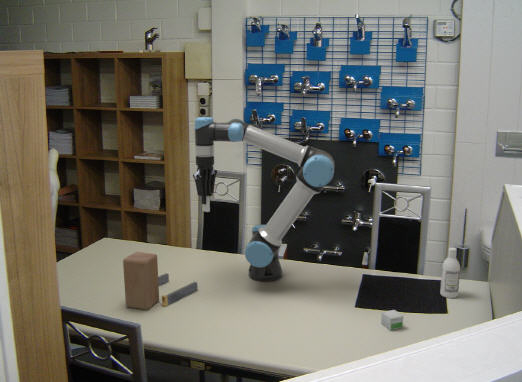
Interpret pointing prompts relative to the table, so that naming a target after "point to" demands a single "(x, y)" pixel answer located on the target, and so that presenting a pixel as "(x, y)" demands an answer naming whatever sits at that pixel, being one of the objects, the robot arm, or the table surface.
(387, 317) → the small box
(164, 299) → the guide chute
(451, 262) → the bath foam
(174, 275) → the table surface
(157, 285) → the wooden block
